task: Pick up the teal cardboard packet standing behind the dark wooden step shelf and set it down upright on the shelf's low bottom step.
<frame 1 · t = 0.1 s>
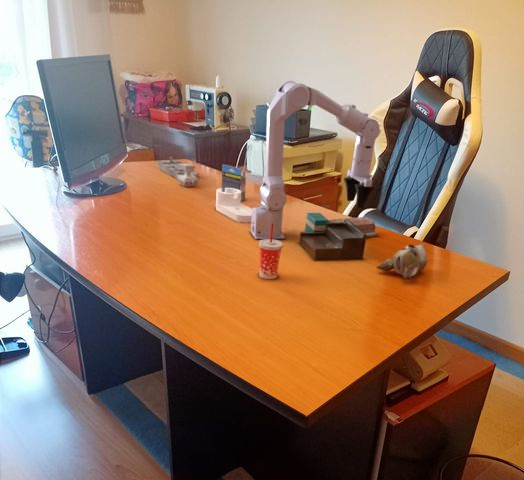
hand: (355, 203, 167), 10 cm above the table, tool pointing down, fingers open, 7 cm apart
stamp: (187, 186, 212), on the table
beverage cup: (268, 276, 137), on the table
ceramic sculpture: (404, 274, 145), on the table
packaged product: (347, 234, 172), on the table
label tape box: (233, 199, 200), on the table
bracket: (236, 214, 183), on the table
step shelf: (330, 251, 157), on the table
architectural model: (177, 173, 231), on the table
packet: (315, 236, 168), on the table
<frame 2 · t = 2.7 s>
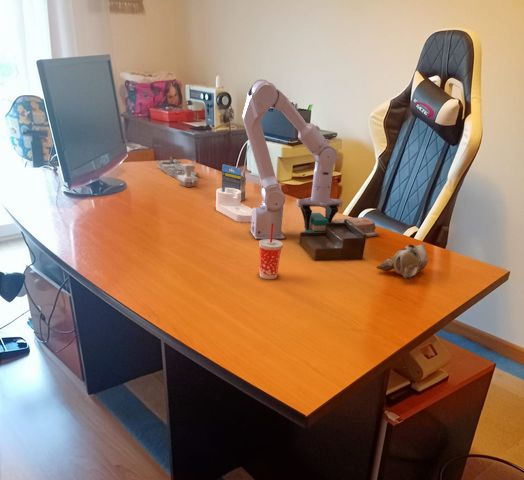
hand: (316, 228, 167), 2 cm above the table, tool pointing down, fingers open, 6 cm apart
packaged product: (347, 234, 172), on the table, touching gripper
everything else where it was.
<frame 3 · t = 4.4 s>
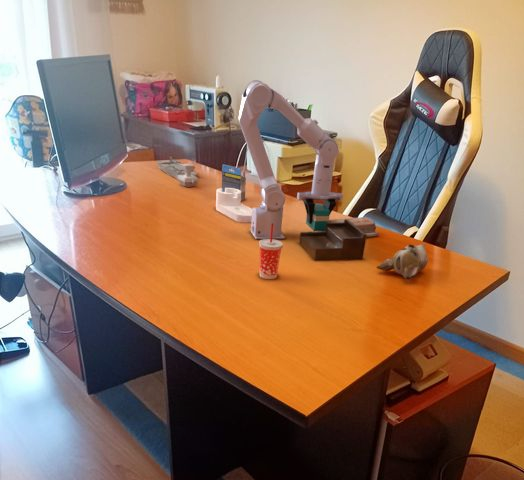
hand: (316, 222, 166), 4 cm above the table, tool pointing down, fingers closed on packet, 4 cm apart
packaged product: (347, 234, 172), on the table
packet: (316, 227, 166), point 3 cm above the table, touching gripper
everything else where it was.
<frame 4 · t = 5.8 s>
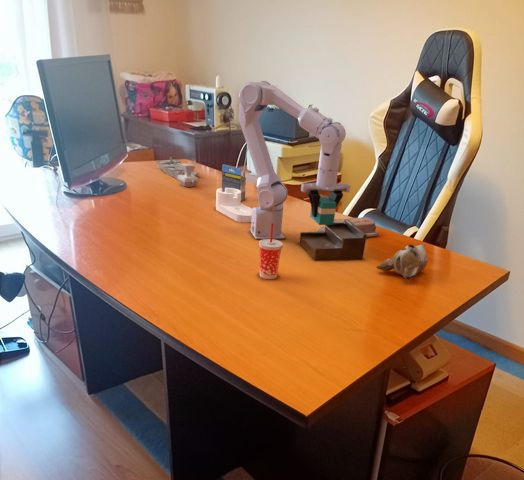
hand: (322, 216, 155), 9 cm above the table, tool pointing down, fingers closed on packet, 4 cm apart
packet: (321, 220, 156), point 8 cm above the table, touching gripper
everything else where it was.
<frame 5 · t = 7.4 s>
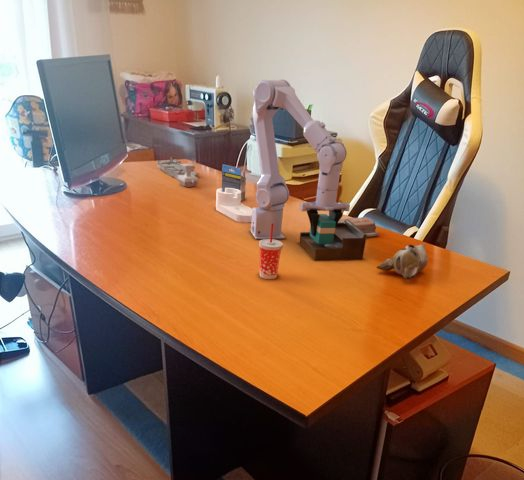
hand: (321, 234, 153), 5 cm above the table, tool pointing down, fingers closed on packet, 4 cm apart
packet: (320, 239, 154), point 4 cm above the table, touching gripper
everything else where it was.
when the fingers open (4 cm above the table, at t = 8.3 s): packet stays where it is, resting on step shelf.
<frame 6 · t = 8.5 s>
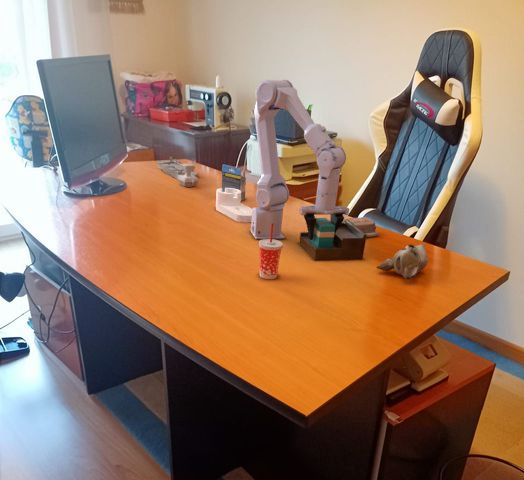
hand: (320, 238, 154), 4 cm above the table, tool pointing down, fingers open, 6 cm apart
packet: (320, 243, 155), point 2 cm above the table, touching step shelf
everything else where it was.
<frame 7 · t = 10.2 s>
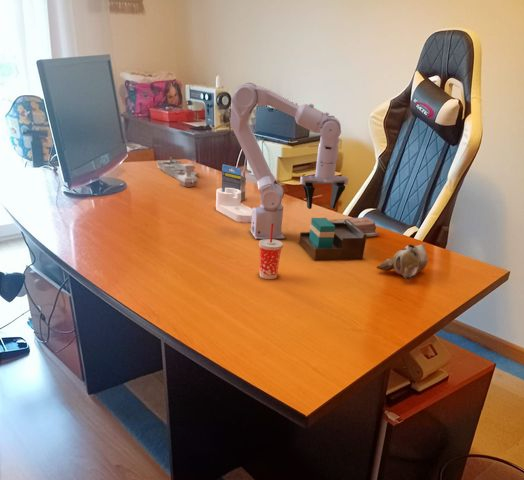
hand: (320, 207, 159), 10 cm above the table, tool pointing down, fingers open, 7 cm apart
nothing on the table moved.
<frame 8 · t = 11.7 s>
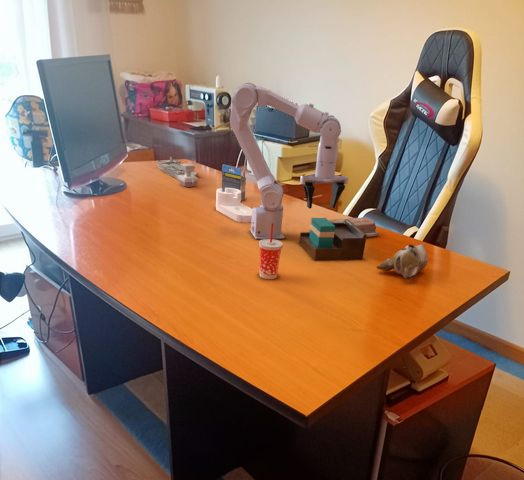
hand: (320, 207, 160), 10 cm above the table, tool pointing down, fingers open, 7 cm apart
nothing on the table moved.
at the end: packet inside the target area on the step shelf (0.2 cm from its centre), point 2.5 cm above the step shelf's base; packet tilted 0°; the gripper is holding nothing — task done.
